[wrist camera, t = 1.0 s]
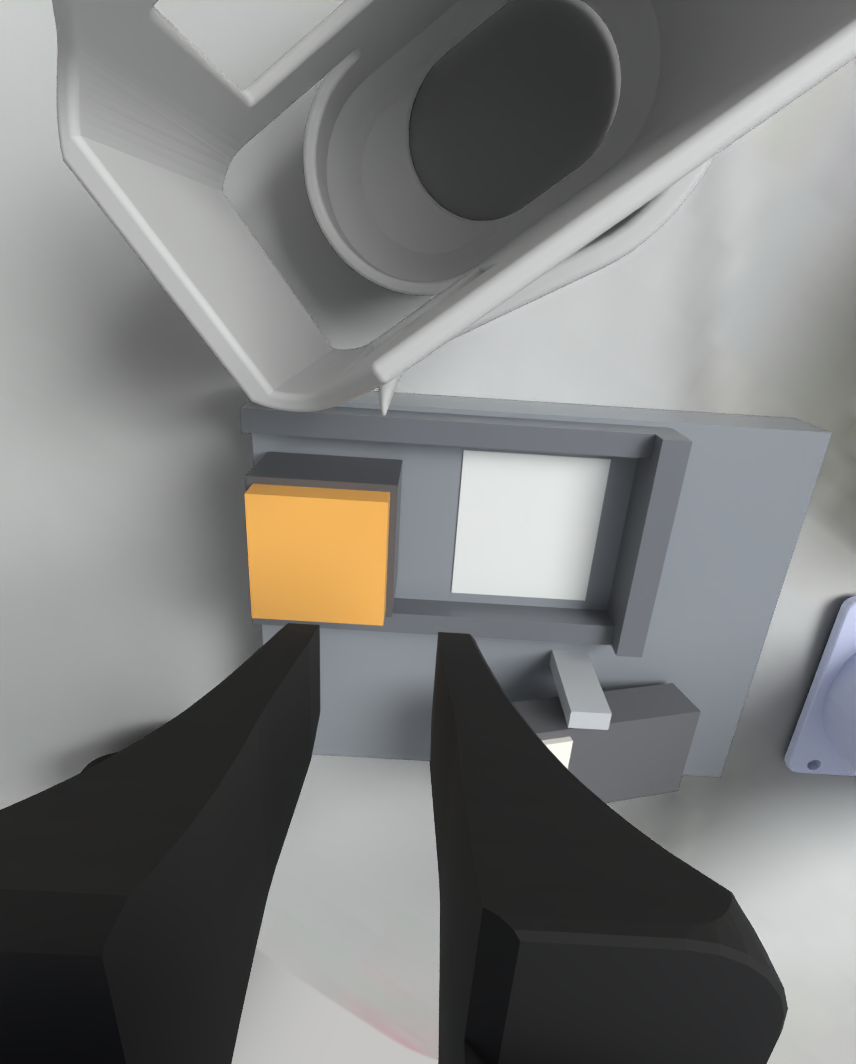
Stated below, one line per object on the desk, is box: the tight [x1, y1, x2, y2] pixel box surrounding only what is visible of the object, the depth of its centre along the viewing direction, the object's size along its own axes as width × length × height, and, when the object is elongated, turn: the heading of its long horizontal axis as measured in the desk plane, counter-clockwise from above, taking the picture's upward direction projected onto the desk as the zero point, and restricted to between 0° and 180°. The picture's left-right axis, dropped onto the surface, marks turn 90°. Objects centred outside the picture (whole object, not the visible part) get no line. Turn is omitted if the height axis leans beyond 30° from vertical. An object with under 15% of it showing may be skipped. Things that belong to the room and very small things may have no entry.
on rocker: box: [512, 683, 701, 803], centre depth 20 cm, size 8×3×2 cm, turn 86°
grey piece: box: [52, 0, 856, 416], centre depth 11 cm, size 7×12×12 cm, turn 124°
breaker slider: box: [244, 451, 403, 626], centre depth 17 cm, size 4×4×3 cm
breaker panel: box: [240, 391, 832, 777], centre depth 20 cm, size 17×13×5 cm
